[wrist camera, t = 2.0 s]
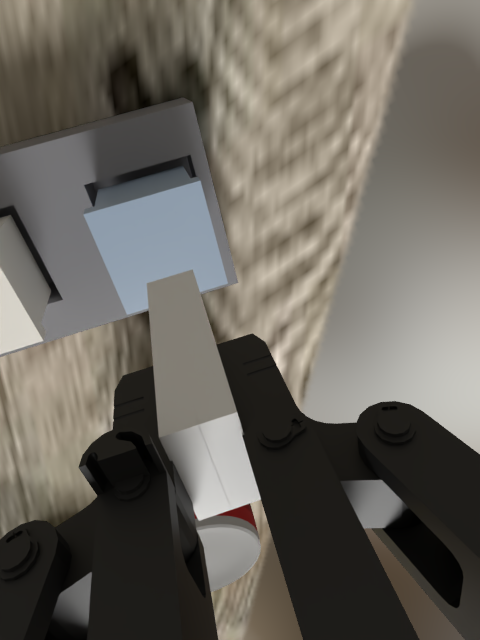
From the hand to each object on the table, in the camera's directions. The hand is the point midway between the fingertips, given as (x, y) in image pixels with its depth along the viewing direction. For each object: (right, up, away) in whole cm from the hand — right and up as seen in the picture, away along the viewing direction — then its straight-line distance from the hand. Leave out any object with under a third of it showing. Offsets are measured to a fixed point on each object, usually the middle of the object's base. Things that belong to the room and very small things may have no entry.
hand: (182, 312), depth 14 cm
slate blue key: (-3, +5, +9) cm, 11 cm away
